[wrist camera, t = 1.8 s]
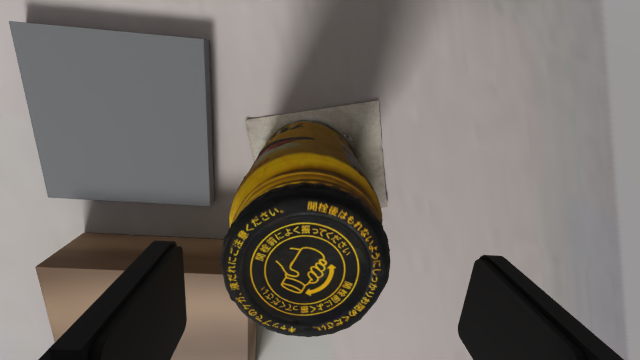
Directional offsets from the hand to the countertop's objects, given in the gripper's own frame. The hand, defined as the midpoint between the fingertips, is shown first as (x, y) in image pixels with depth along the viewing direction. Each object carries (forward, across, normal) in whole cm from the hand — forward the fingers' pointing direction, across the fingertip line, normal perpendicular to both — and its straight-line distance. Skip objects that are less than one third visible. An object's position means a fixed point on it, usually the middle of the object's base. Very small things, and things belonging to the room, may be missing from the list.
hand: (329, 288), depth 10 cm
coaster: (+12, +12, -3) cm, 17 cm away
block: (+12, +10, +11) cm, 19 cm away
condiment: (+12, 0, -1) cm, 12 cm away
